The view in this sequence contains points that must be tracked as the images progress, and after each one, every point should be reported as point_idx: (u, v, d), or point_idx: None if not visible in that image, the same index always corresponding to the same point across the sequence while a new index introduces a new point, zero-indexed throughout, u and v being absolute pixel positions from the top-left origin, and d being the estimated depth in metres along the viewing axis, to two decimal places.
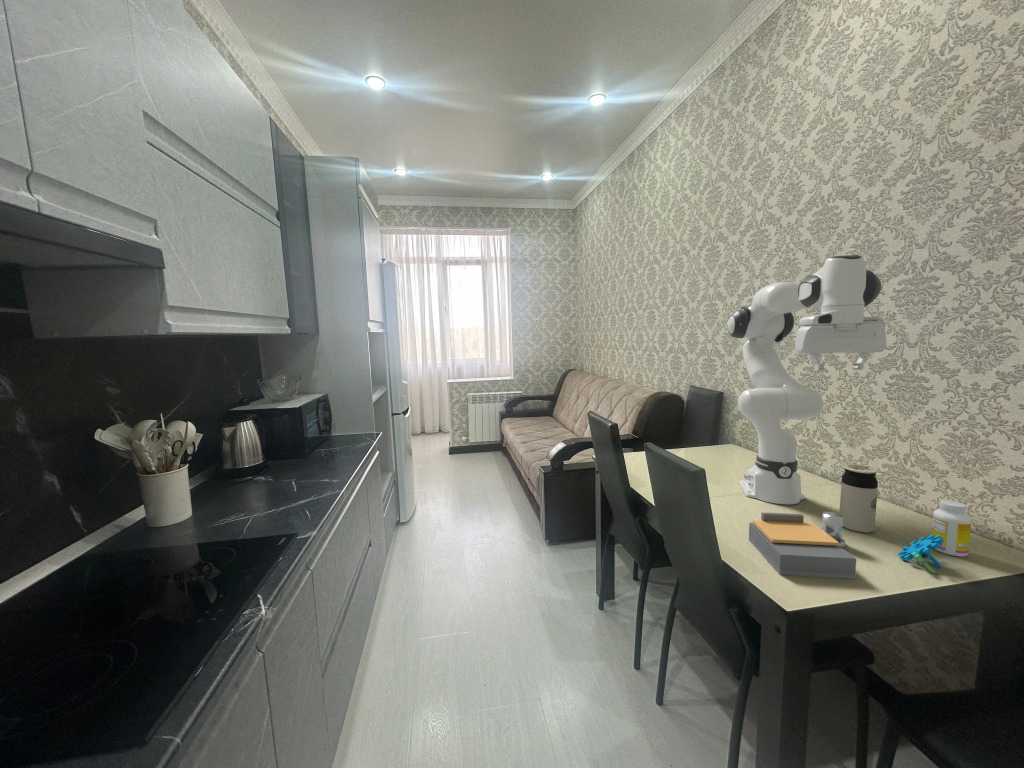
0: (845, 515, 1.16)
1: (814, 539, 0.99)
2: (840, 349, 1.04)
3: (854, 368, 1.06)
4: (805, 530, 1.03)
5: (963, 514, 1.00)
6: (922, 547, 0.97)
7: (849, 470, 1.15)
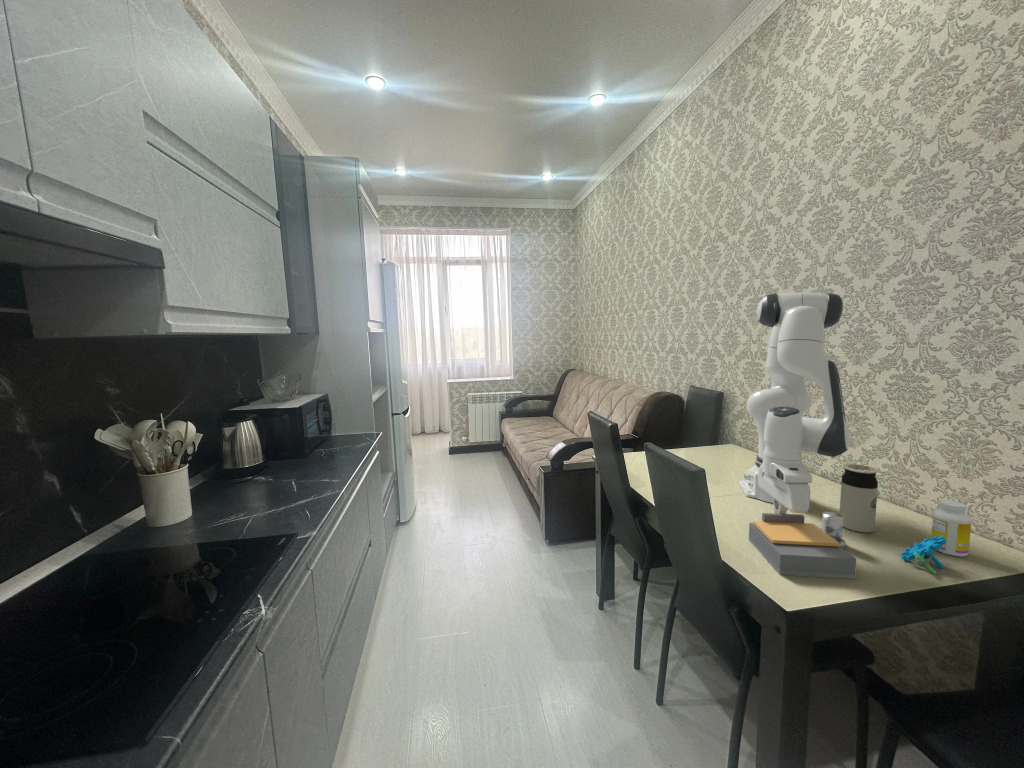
0: (845, 515, 1.16)
1: (815, 540, 0.98)
2: None
3: None
4: (806, 531, 1.03)
5: (963, 514, 1.00)
6: (924, 548, 0.96)
7: (849, 470, 1.15)
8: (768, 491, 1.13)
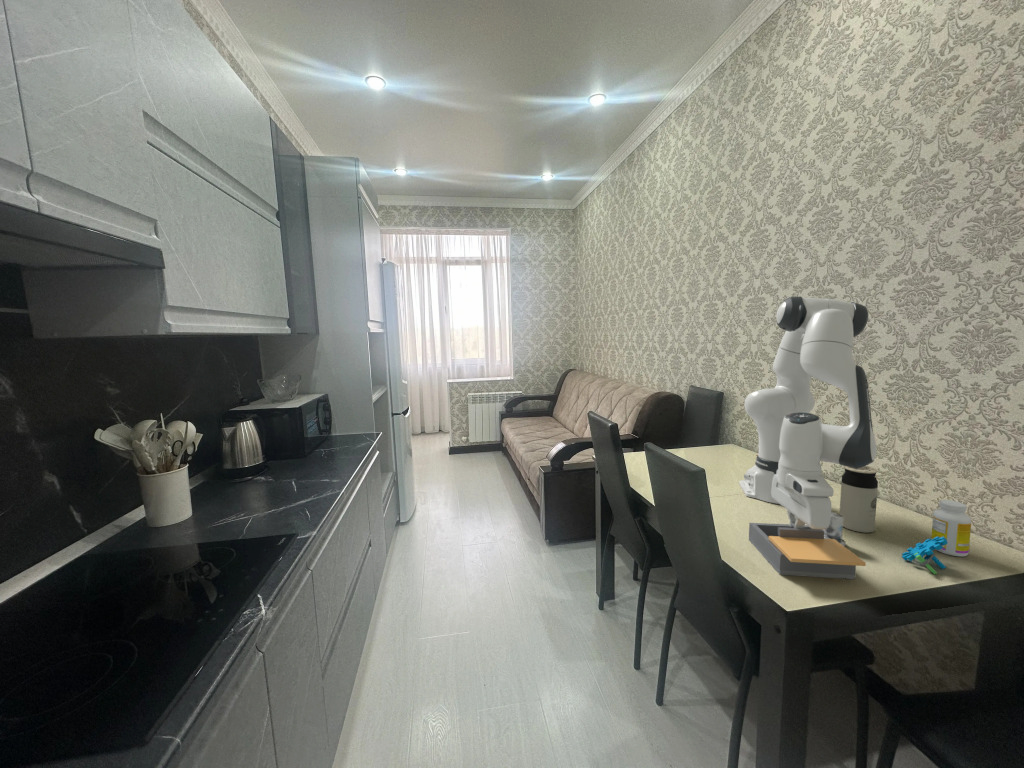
0: (845, 515, 1.16)
1: (837, 558, 0.90)
2: None
3: None
4: (827, 548, 0.94)
5: (963, 514, 1.00)
6: (925, 548, 0.96)
7: (849, 470, 1.15)
8: (783, 503, 1.05)
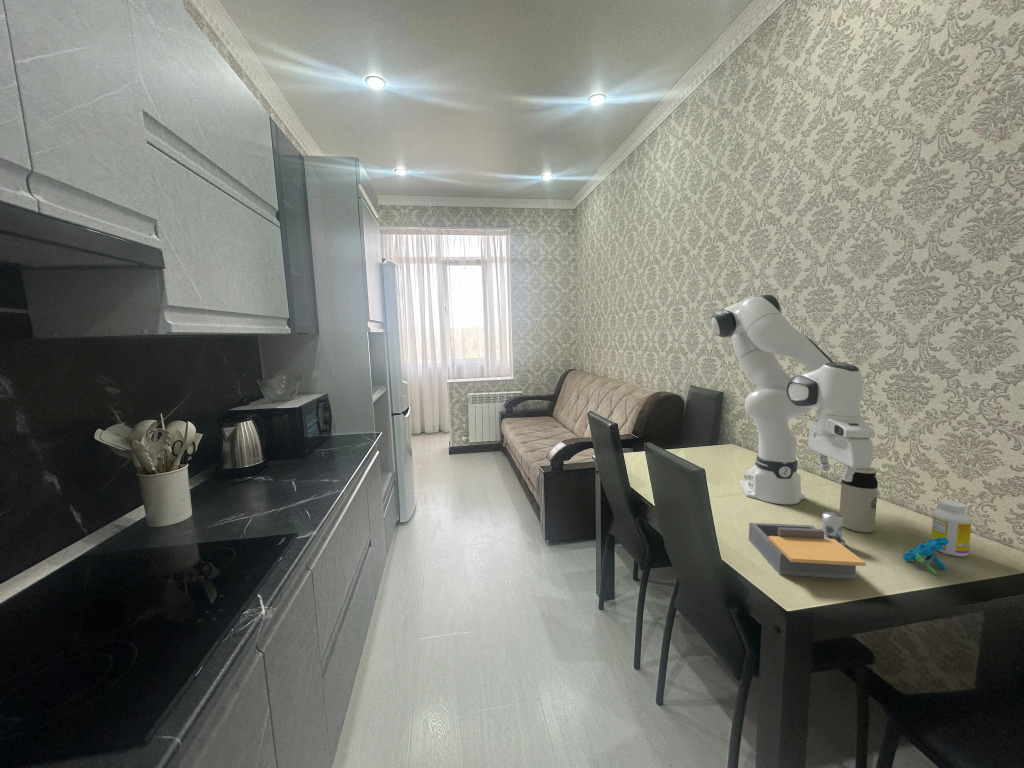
0: (845, 515, 1.16)
1: (837, 558, 0.90)
2: None
3: (825, 469, 1.10)
4: (827, 548, 0.94)
5: (963, 514, 1.00)
6: (926, 548, 0.96)
7: None
8: (822, 451, 1.09)
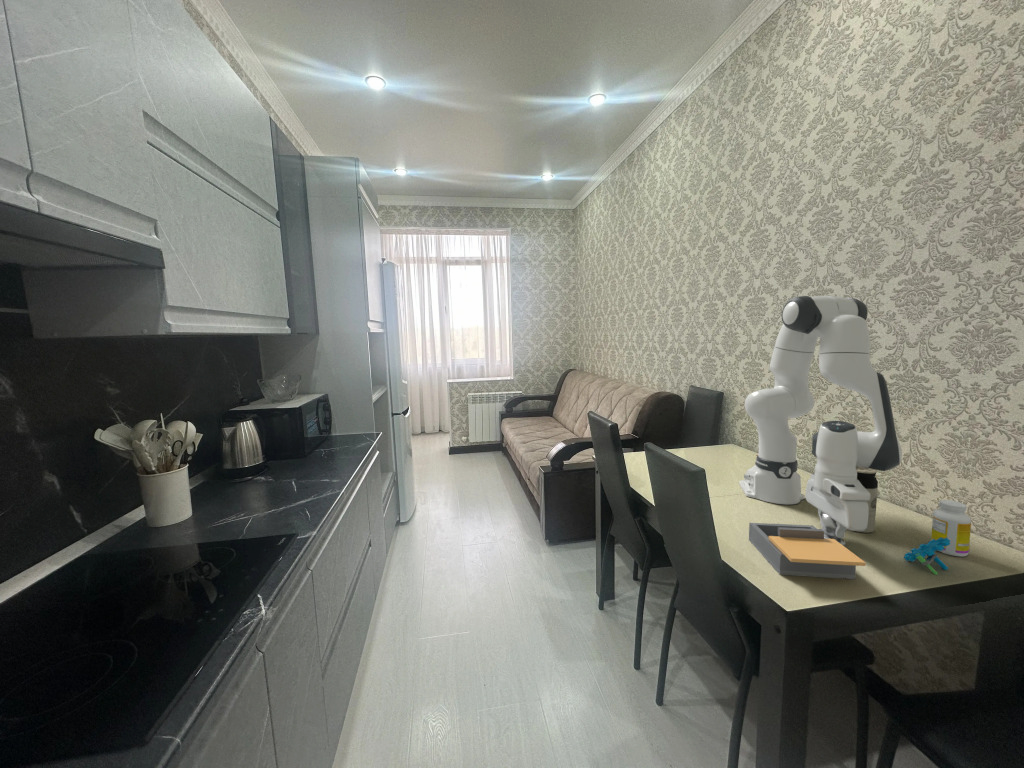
0: None
1: (837, 558, 0.90)
2: None
3: None
4: (827, 548, 0.94)
5: (963, 514, 1.00)
6: (927, 549, 0.96)
7: None
8: (819, 506, 1.11)
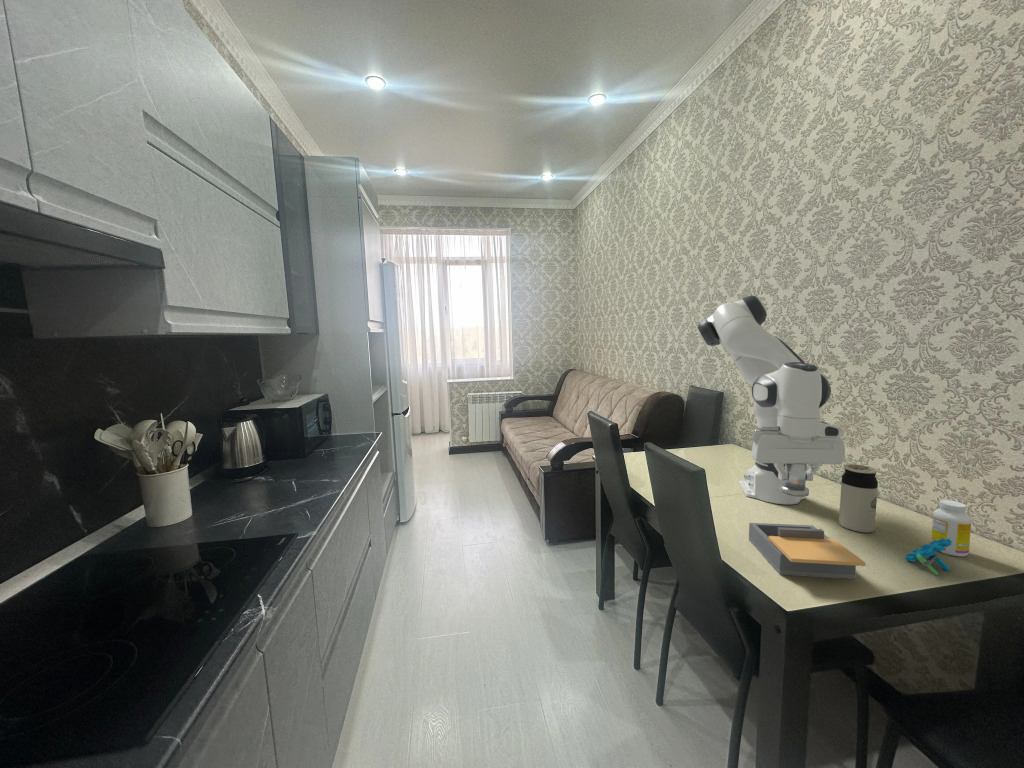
0: (845, 515, 1.16)
1: (837, 558, 0.90)
2: None
3: None
4: (827, 548, 0.94)
5: (963, 514, 1.00)
6: (928, 549, 0.96)
7: (849, 470, 1.15)
8: (787, 460, 1.00)
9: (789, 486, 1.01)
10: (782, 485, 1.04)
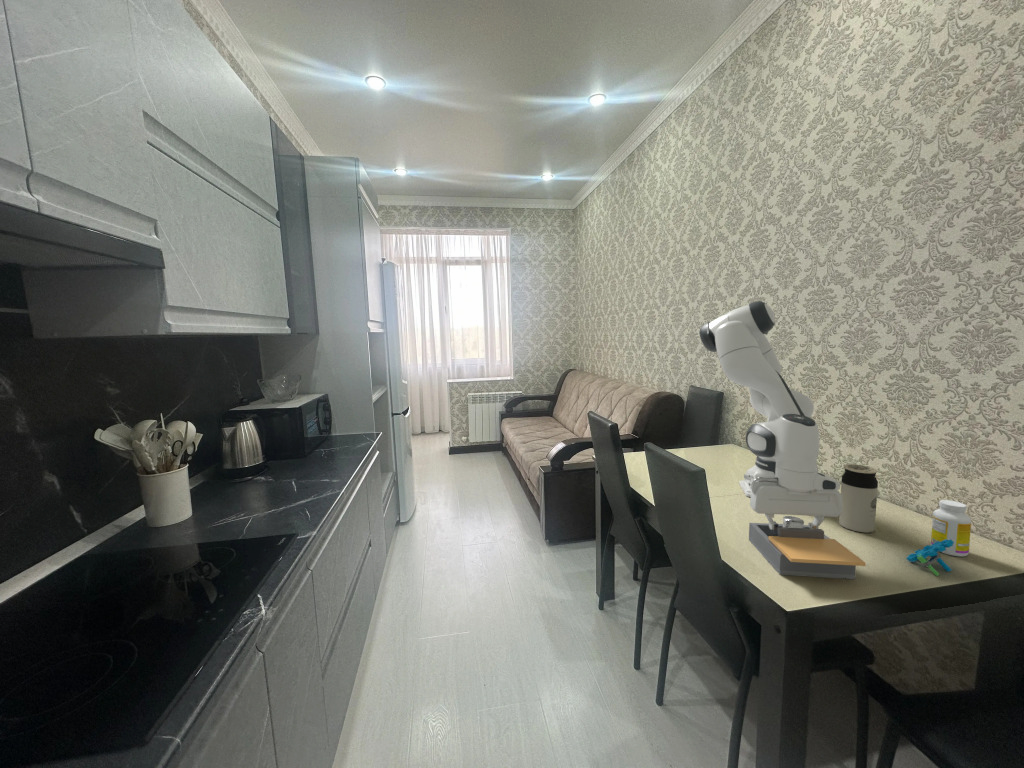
0: (845, 515, 1.16)
1: (837, 558, 0.90)
2: None
3: None
4: (827, 548, 0.94)
5: (963, 514, 1.00)
6: (929, 550, 0.95)
7: (849, 470, 1.15)
8: (785, 511, 1.01)
9: None
10: None
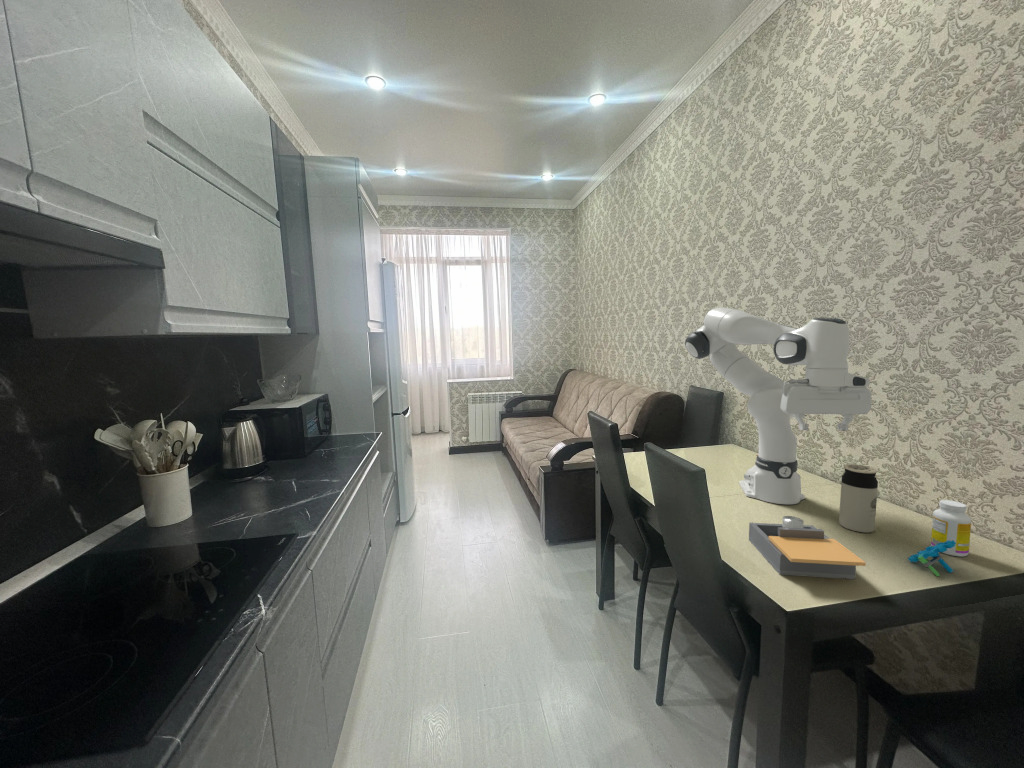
0: (845, 515, 1.16)
1: (837, 558, 0.90)
2: None
3: None
4: (827, 548, 0.94)
5: (963, 514, 1.00)
6: (930, 550, 0.95)
7: (849, 470, 1.15)
8: (816, 410, 1.05)
9: None
10: None
